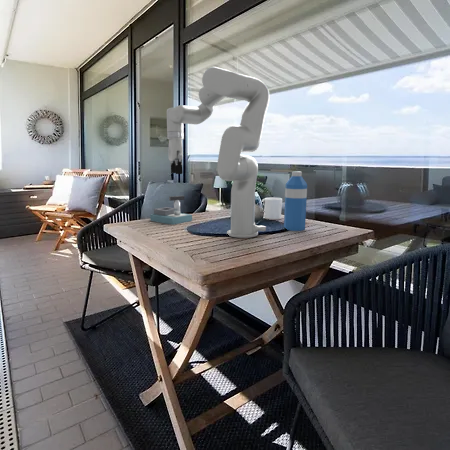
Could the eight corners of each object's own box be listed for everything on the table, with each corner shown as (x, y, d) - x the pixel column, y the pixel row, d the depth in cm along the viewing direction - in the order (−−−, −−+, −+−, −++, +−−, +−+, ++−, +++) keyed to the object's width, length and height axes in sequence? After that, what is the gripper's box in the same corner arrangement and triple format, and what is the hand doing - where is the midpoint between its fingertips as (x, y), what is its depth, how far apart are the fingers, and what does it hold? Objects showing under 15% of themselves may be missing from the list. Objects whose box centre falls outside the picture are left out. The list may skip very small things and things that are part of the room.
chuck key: (183, 213, 167) (183, 195, 165) (185, 214, 164) (184, 196, 162) (169, 214, 164) (168, 196, 162) (170, 215, 161) (170, 197, 160)
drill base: (192, 220, 168) (192, 209, 166) (172, 224, 158) (172, 213, 157) (168, 216, 179) (167, 206, 177) (148, 220, 169) (147, 209, 168)
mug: (284, 218, 176) (285, 198, 173) (277, 220, 168) (278, 200, 166) (265, 216, 181) (265, 196, 179) (257, 218, 174) (257, 198, 172)
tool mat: (187, 215, 165) (187, 214, 165) (176, 217, 160) (176, 216, 160) (178, 214, 169) (178, 213, 169) (167, 215, 163) (167, 215, 163)
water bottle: (281, 229, 147) (283, 171, 142) (286, 225, 156) (288, 170, 151) (303, 231, 144) (306, 172, 139) (306, 227, 152) (309, 171, 147)
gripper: (163, 136, 163) (165, 172, 167) (171, 134, 148) (172, 174, 151) (179, 137, 166) (180, 172, 169) (188, 135, 150) (189, 174, 154)
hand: (176, 173), depth 160 cm, fingers open, 9 cm apart
